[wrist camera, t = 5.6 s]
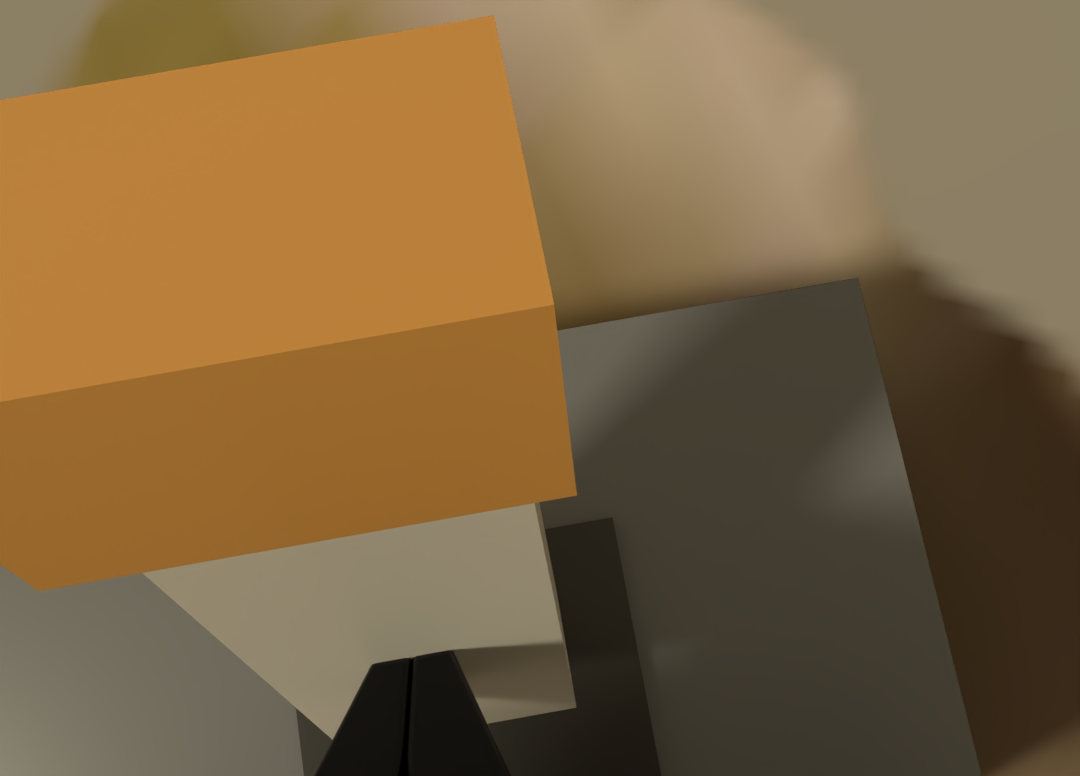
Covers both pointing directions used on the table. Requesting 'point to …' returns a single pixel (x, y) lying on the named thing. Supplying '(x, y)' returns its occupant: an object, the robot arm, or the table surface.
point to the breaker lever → (292, 361)
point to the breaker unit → (606, 586)
